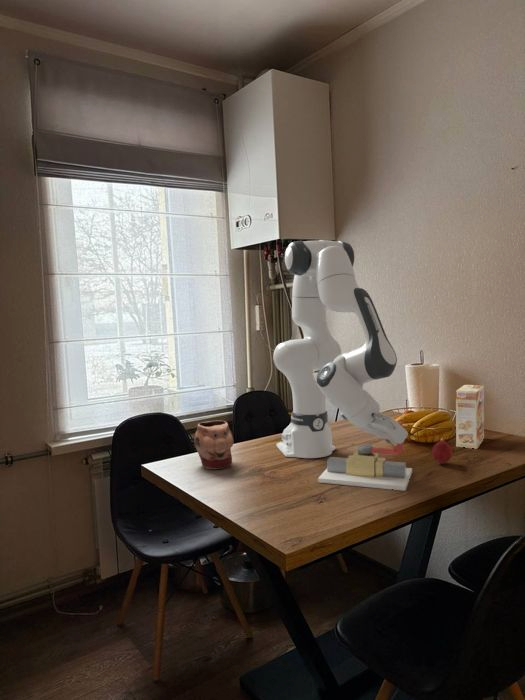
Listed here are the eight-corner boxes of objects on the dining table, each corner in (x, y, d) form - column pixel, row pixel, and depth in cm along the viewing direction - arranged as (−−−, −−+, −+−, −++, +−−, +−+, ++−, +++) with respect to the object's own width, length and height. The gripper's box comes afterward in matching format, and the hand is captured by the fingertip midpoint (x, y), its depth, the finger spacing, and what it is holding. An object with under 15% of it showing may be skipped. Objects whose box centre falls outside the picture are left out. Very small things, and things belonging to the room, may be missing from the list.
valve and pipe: (326, 477, 152) (325, 452, 151) (331, 470, 157) (330, 447, 157) (403, 484, 143) (403, 458, 143) (406, 477, 149) (406, 452, 148)
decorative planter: (186, 460, 174) (184, 419, 173) (219, 454, 180) (217, 414, 179) (208, 476, 157) (206, 430, 156) (245, 469, 162) (243, 425, 161)
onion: (453, 467, 156) (453, 441, 156) (433, 466, 158) (433, 440, 157) (450, 461, 162) (450, 436, 161) (431, 461, 163) (431, 436, 163)
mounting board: (318, 482, 148) (318, 478, 148) (332, 465, 162) (332, 461, 162) (405, 490, 138) (405, 486, 138) (412, 472, 153) (412, 468, 153)
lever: (355, 453, 149) (354, 421, 148) (360, 449, 153) (359, 418, 152) (401, 457, 143) (400, 424, 142) (404, 453, 147) (404, 421, 146)
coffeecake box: (477, 449, 174) (477, 391, 172) (455, 447, 178) (454, 390, 176) (485, 438, 187) (485, 385, 185) (464, 436, 190) (463, 384, 189)
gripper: (393, 408, 131) (425, 441, 135) (349, 396, 150) (378, 426, 154) (378, 427, 130) (411, 460, 134) (336, 413, 148) (366, 443, 153)
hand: (393, 442), depth 144 cm, fingers closed, pressing on lever
